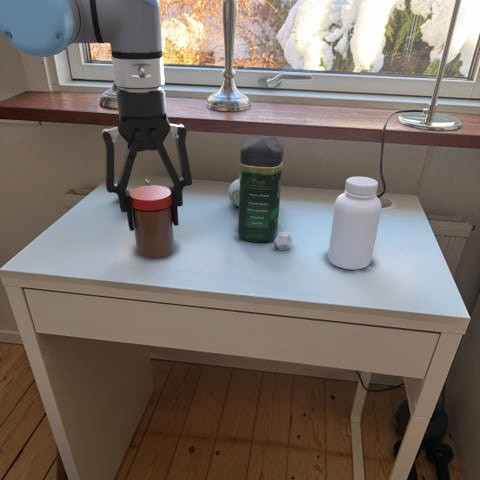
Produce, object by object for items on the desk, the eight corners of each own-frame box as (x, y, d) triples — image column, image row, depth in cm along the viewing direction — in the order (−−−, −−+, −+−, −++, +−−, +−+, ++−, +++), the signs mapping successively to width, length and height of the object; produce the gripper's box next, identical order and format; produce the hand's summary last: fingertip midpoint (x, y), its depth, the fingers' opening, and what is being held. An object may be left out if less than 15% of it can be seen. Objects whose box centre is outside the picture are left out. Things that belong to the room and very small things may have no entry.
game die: (290, 253, 88) (291, 239, 87) (271, 250, 89) (272, 236, 87) (293, 245, 91) (295, 231, 89) (275, 242, 92) (276, 228, 90)
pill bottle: (343, 246, 91) (356, 170, 82) (378, 261, 87) (396, 181, 78) (318, 259, 87) (329, 180, 78) (354, 275, 82) (370, 193, 73)
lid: (176, 208, 81) (175, 198, 80) (132, 213, 79) (131, 202, 78) (168, 193, 87) (167, 183, 86) (127, 197, 85) (126, 187, 84)
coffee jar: (274, 245, 91) (281, 148, 80) (234, 241, 92) (236, 144, 81) (280, 225, 99) (287, 134, 88) (243, 222, 100) (245, 131, 89)
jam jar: (137, 260, 85) (130, 204, 79) (136, 243, 91) (130, 190, 84) (175, 257, 86) (172, 202, 80) (172, 240, 92) (169, 188, 86)
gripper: (73, 95, 67) (98, 240, 80) (209, 90, 72) (212, 227, 85) (71, 86, 72) (95, 223, 86) (198, 82, 78) (201, 211, 91)
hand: (153, 225), depth 86 cm, fingers closed on lid, 7 cm apart
